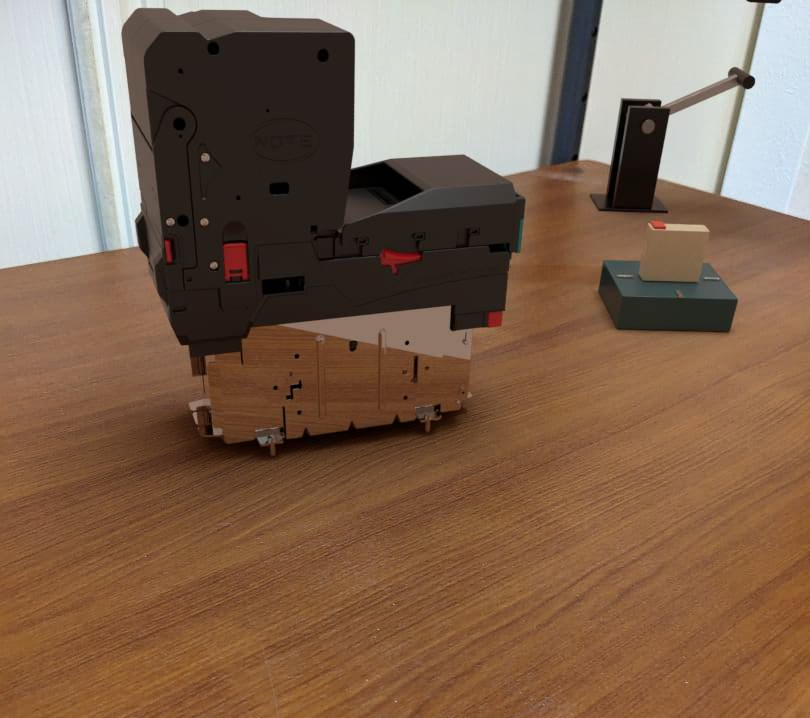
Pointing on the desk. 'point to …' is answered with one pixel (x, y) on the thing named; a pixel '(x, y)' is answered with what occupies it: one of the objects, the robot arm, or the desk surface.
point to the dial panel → (666, 300)
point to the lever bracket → (635, 158)
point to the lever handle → (712, 90)
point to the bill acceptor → (303, 232)
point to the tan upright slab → (673, 252)
